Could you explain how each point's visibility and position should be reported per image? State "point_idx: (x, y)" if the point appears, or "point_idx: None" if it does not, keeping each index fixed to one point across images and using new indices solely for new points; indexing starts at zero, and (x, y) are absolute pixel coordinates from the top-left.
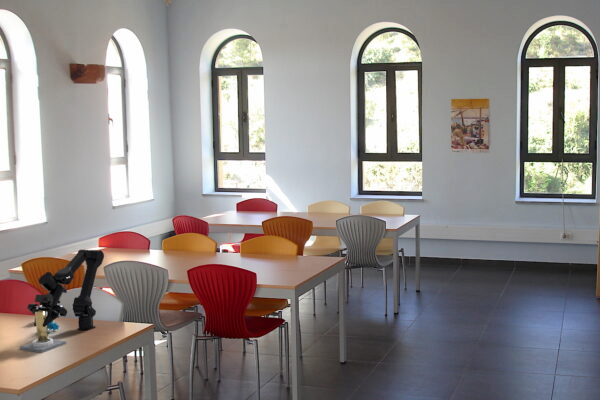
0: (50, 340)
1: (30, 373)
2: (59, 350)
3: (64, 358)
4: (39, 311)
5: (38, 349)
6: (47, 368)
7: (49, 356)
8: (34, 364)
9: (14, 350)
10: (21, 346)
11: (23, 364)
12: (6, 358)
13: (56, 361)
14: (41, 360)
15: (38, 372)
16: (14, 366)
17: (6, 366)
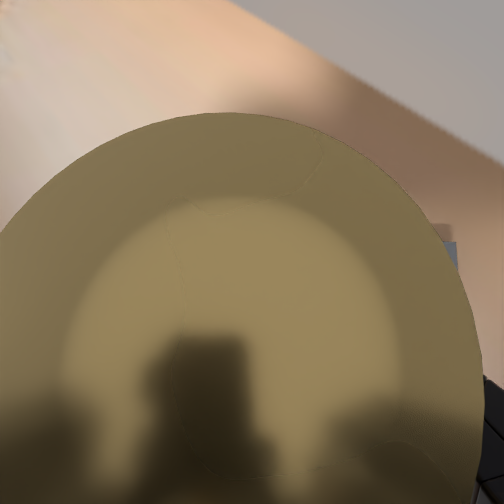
0: None
1: (66, 8)
2: None
3: (5, 194)
4: (207, 332)
5: None
6: (25, 68)
7: None
8: (114, 79)
9: (475, 221)
10: (451, 258)
11: (171, 59)
12: (357, 83)
13: (27, 146)
14: (114, 131)
15: (40, 27)
16: (197, 27)
17: (239, 12)
